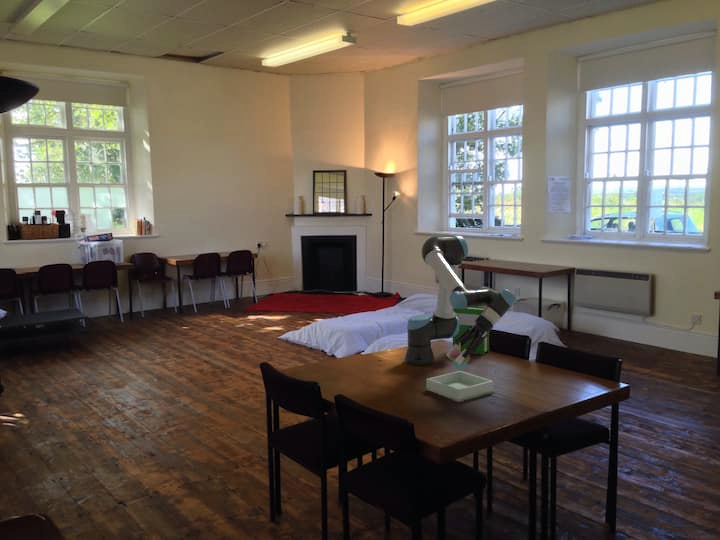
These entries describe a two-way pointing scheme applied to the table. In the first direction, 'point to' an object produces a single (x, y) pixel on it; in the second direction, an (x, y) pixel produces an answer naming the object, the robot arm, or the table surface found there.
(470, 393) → the box
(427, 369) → the table surface
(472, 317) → the hardback book
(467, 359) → the cupcake
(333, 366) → the table surface
